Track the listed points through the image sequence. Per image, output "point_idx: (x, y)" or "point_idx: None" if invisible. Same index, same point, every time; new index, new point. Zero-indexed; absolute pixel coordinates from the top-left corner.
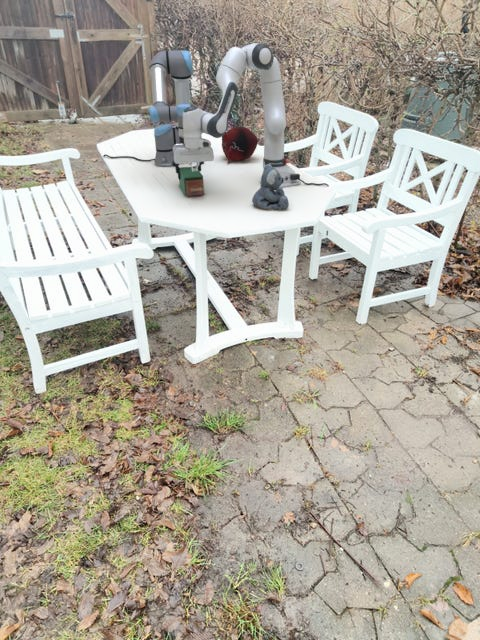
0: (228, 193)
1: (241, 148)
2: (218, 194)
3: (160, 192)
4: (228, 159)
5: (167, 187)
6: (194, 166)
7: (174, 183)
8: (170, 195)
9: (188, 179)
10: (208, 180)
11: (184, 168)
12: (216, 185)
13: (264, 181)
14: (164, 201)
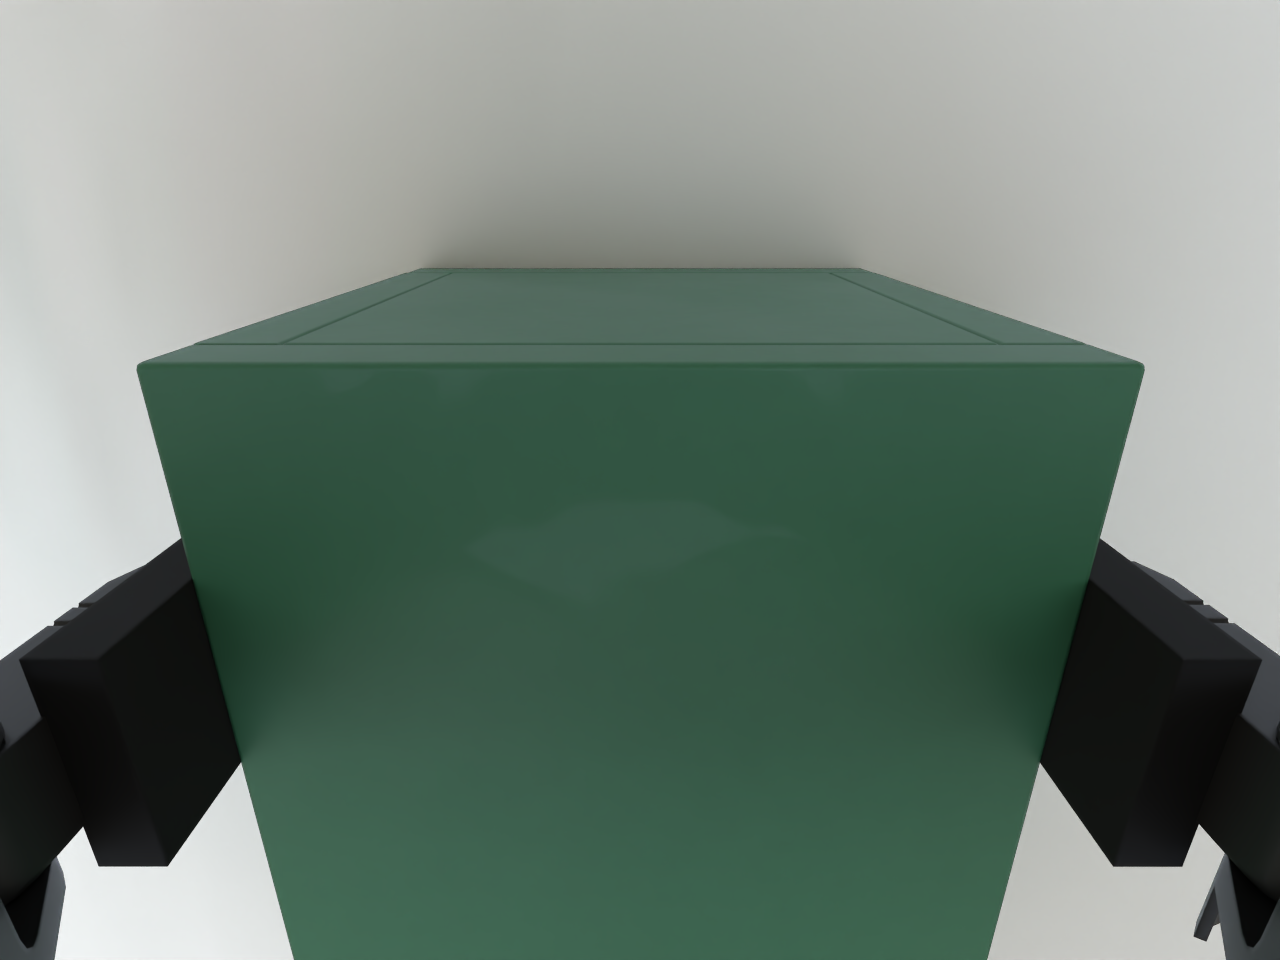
0: (1177, 908)
1: None
2: (1013, 908)
3: (22, 592)
4: None
5: (127, 322)
6: (1043, 379)
7: (284, 30)
8: (237, 773)
9: None
10: (1249, 42)
11: (468, 572)
12: (1217, 498)
13: None
14: (164, 957)
